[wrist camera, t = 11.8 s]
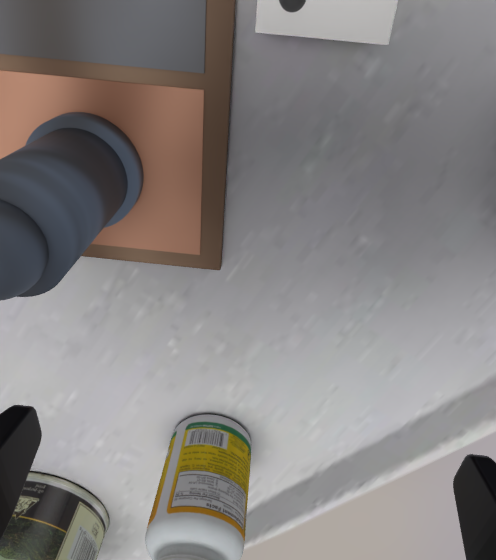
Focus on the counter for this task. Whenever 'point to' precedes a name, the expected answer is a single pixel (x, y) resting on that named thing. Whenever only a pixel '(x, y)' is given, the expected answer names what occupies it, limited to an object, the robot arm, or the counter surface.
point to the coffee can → (54, 522)
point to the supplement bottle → (202, 492)
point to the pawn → (62, 198)
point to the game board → (133, 107)
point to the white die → (328, 19)
